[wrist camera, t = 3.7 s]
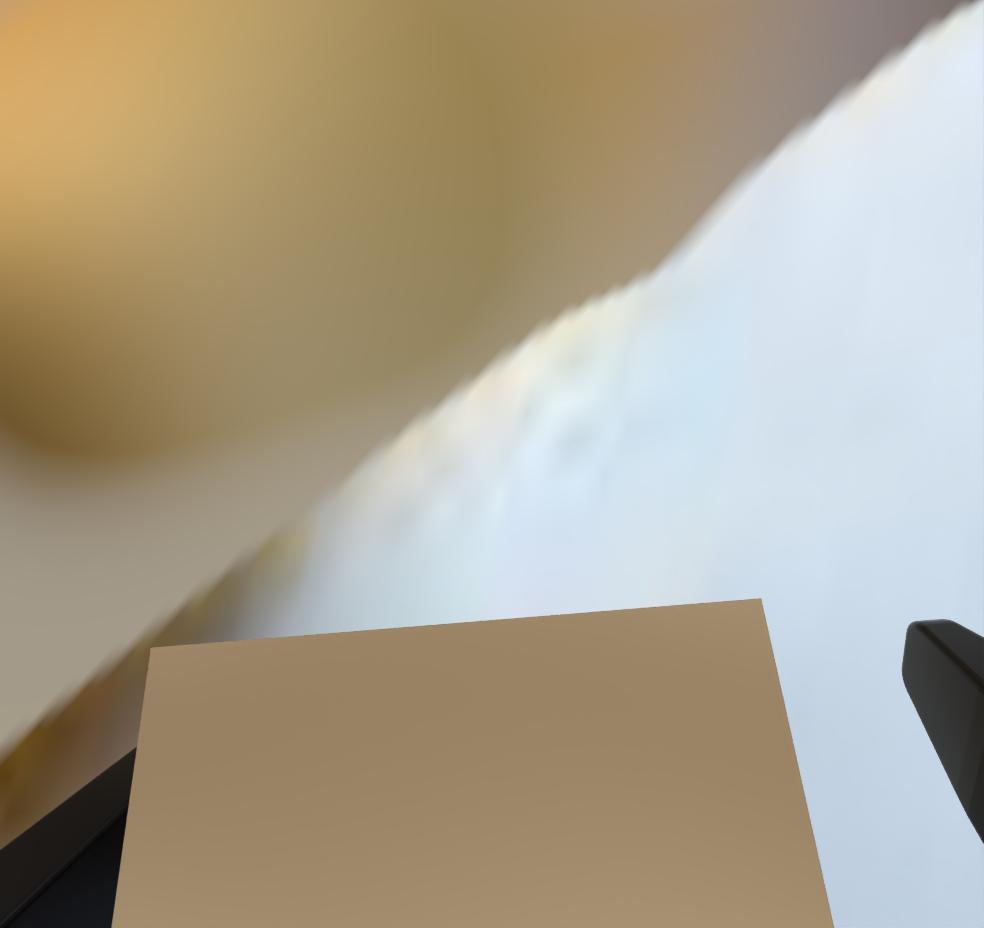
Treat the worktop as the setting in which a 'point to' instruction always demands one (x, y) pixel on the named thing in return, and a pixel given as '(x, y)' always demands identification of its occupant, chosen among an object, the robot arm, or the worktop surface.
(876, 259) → the worktop surface
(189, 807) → the wooden block
